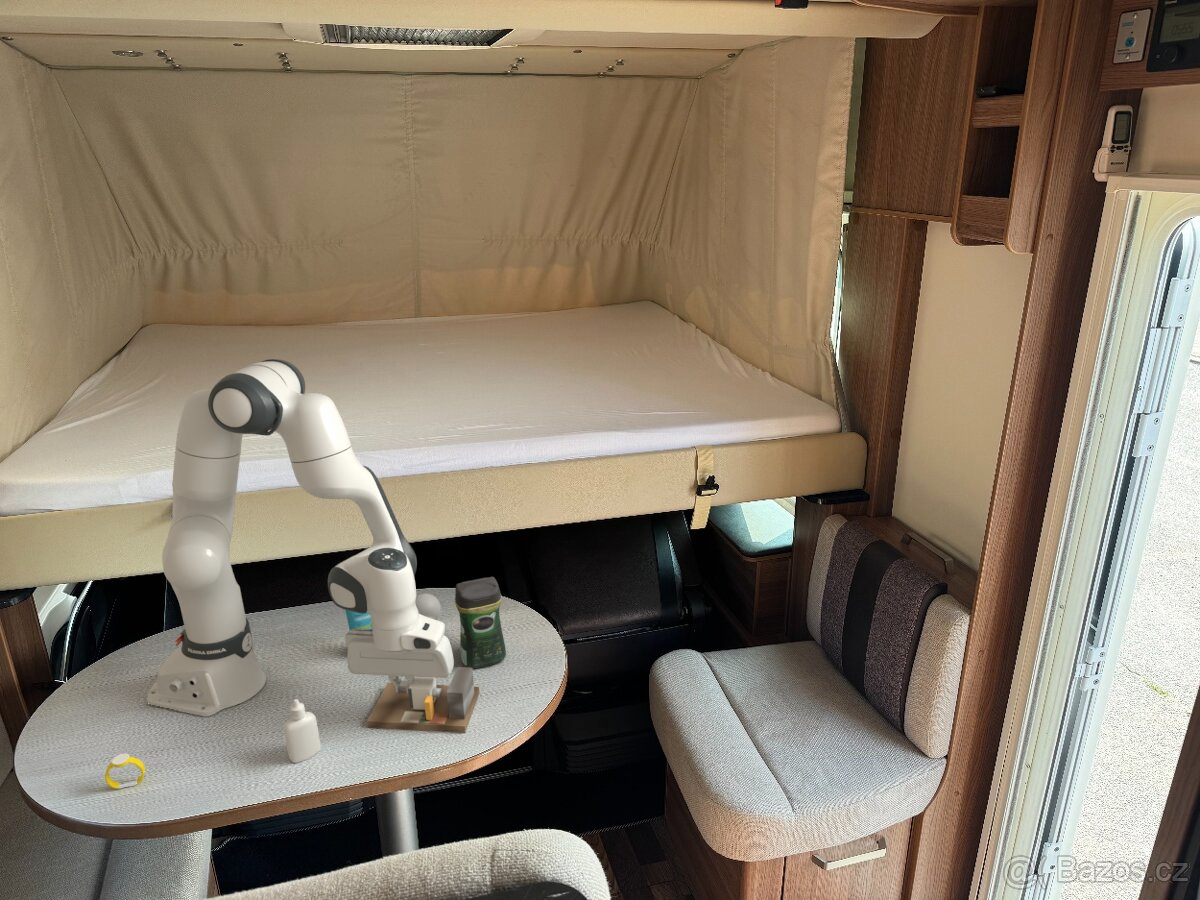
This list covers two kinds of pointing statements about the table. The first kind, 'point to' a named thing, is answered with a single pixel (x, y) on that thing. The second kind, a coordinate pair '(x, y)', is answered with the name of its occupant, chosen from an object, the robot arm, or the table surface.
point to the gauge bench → (448, 708)
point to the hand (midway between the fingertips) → (404, 691)
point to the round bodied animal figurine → (428, 606)
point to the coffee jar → (480, 622)
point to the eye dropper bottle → (301, 734)
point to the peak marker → (429, 707)
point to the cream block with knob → (422, 692)
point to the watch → (122, 761)
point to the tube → (358, 620)
